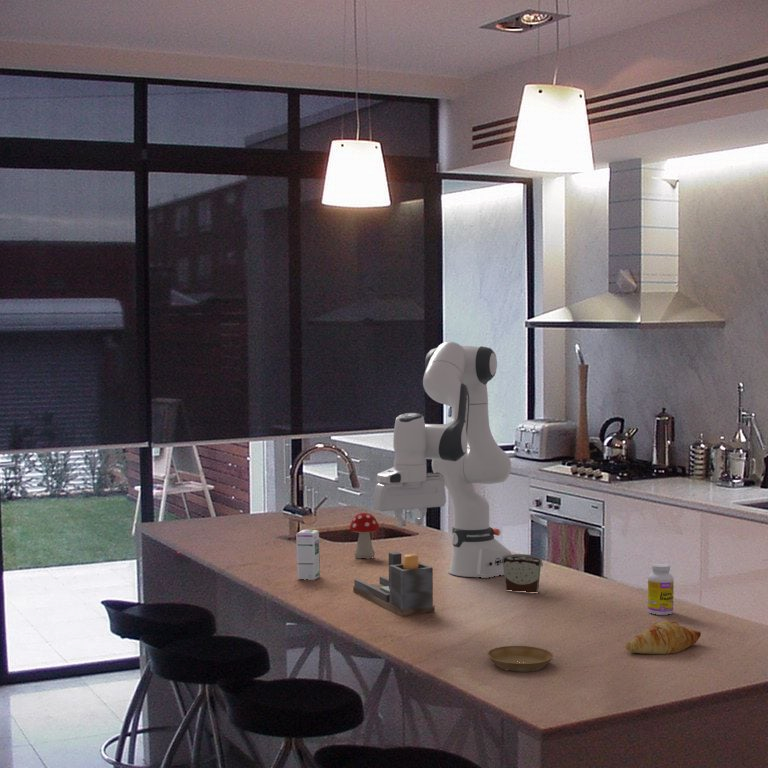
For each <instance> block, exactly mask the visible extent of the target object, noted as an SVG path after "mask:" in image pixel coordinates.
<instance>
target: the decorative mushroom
mask: <svg viewBox="0 0 768 768" xmlns="http://www.w3.org/2000/svg"><path fill="white" fill-rule="evenodd" d="M379 530H380V525H379V523H378V521H377V518H376V517H375V516H374V515H372V514H371V513H368V512H360V513H358V514H356V515H355V516H354V517H353V518H352V520H351V522H350V526H349V531H351V532H353V533H358V539H357V543H356V544H357V545H356V548H355V550H354V551H355V552H354V557H355V558H356V559H357V558H372V557H375V555H376V552H375V551H374V548H373V545H372V544H373V543H372V540H371V539H372V538H371V534H370V533H375V532H378V531H379ZM372 559H373V558H372Z"/></svg>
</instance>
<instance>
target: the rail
mask: <svg viewBox="0 0 768 768" xmlns="http://www.w3.org/2000/svg"><path fill="white" fill-rule="evenodd" d="M389 566H390V594H388V593H386V592H384V591H382V590H380V587H385V586H389V577H385V576H383V575H382V576H379V583H374V584H369V583H367V582H365V581H363V580H361V579H359V578H358V579H357V578H354V585H353V587H352V588H353V589H352V591H354V592H353V593H355V592H356V593H355V594H357V593H358V594H357V595H359V594H360V595H359V596H361V595H362V597H363V596H364V597H363V598H365V597H366V598H365V599H367V598H368V599H367V600H369V599H370V600H369V601H371V602H373V603H375V604H377V605H378V604H379V606H380V605H381V606H380V607H382V606H383V608H385V609H387V610H388V611H390V612H392V613H394V614H396V615H398V616H400V617H405V616H411V615H412V614H413V615H418V613H421V614H427V613H426V612H429V613H433V612H432V611H435V605H434V597H433V595H434V587H433V585H434V583H433V582H434V580H433V578H434V576H433V575H434V573H433V567H432V566H429V565H427V564H425V563H422V562H419V561H418V568H417V569H407V570H404V565H403V563H402V564H398V565H389V564H388V567H389ZM404 615H405V616H404Z"/></svg>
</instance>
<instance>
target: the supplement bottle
mask: <svg viewBox="0 0 768 768" xmlns="http://www.w3.org/2000/svg"><path fill="white" fill-rule="evenodd" d="M670 570H671V565H670V564H668V563H664V562H663V563H662V562H661V563H660V562H659V563H658V562H655V563H652V565H651V571H652V572H651V573H650V574H649V575H648V577H647V612H648V613H649V614H651V613H652V615H655V614H656V615H655V616H669V615H668V614H670V615H672V614H673V613H674V583H675V581H674V580H675V579H674V576H673V575H672V574H671V573H670Z"/></svg>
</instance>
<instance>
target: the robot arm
mask: <svg viewBox="0 0 768 768" xmlns="http://www.w3.org/2000/svg"><path fill="white" fill-rule="evenodd" d="M424 369H425V371H424V374H423V377H422V378H423V379H422V386H423V389H424V391H425V393H426V394H427V396H428V397H429V398H431V400H433V401H435V402H436V403H439V404H442V405H445V406H448V407H451V411H452V414H451V421H450V422H448V423H442V424H441V423H425V419H424V415H423V414H422V413H419V412H407V413H402V414H400V415H398V416H397V417H396V418H395V421H394V422H395V423H394V427H393V428H394V429H393V439H392V440H393V450H394V459H393V466H392V467H391V468H388V469H386V470H383V471H381V472H378V473H377V475H376V481H377V483H376V485H375V487H374V493H373V507H374V509H376V511H379V512H392V511H393V514H394V515H395V518H396V519H397V525H398V527H401V528H402V527H406V526H407V525H406V524H407V523H406V521H407V520H406V519H404V518H403V517H402V514H403V510H404V511H406V510H415V509H418V512H419V513H418V516H417V517H414V518H415V519H414V521H415V522H414V524H415V525H416V526H423V524H424V518H425V516H426V514H427V511H428V510H427V509H429V508H442V507H444V506H445V505H446V503H447V496H446V491H448V494H449V496H450V499H451V503H452V513H453V514H452V515H453V526H452V528H451V537H452V538H451V539H452V540H451V541H452V553H451V561H450V566H449V569H448V573H449V574H451V575H453V576H458V577H465V578H467V577H469V578H479V577H481V578H482V579H488V578H489V577H490V578H494V576H495V577H500V576H499V575H501V576H504V567H503V563H502V564H501V561H502V558H503V556H506V555H513V554H512V552H511V550H510V549H508V548H507V547H506V546H505V545H503V544H502V543H501V542H499V541H498V540H497V539H496V538H495V536H496V537H497V536H500V534H501V533H502V531H501V530H500V529H499V528H493V527H491V526H490V505H489V501H488V500H487V499H486V498H485V497H484V496H482V495H481V494H479V493H478V492H477V490H476V489H475V487H474V484H481V485H482V484H483V485H492V484H493V485H494V484H500V483H504V482H505V481H506V480H508V478H509V476H510V475H511V472H512V461H511V458H510V456H509V454H507V452H506V451H504V450H503V449H502V448H501V447H500V446H499V444H498V443H497V442H496V441H495V438H494V436H493V434H492V432H491V427H490V419H489V394H488V387H487V384H488V382H489V381H492V379H493V378H494V377H495V376H496V373H497V369H498V359H497V355H496V353H495V352H494V350H493V349H492V348H491V347H487V346H472V345H461V344H459V343H457V342H454V341H445V342H442V343H440V344H439V345H438V346H437V347H435V348H432V349H430V350H429V351H428V352H427V353H426V356H425V360H424ZM427 460H431V469H432V472H427ZM481 578H480V579H481Z"/></svg>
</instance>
